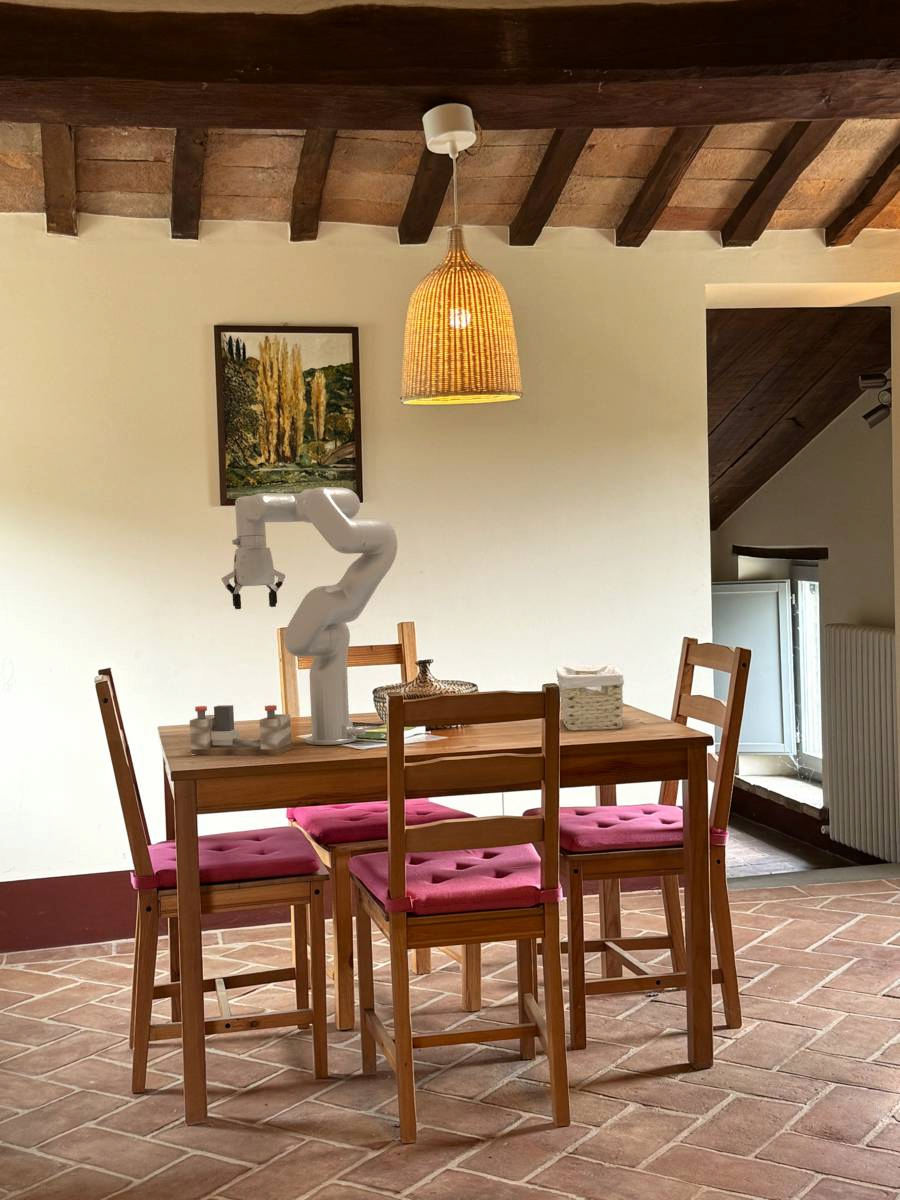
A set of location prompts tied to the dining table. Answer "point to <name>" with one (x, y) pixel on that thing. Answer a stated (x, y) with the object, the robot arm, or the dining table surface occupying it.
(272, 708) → the red knob cap
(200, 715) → the red rounded knob
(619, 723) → the storage basket
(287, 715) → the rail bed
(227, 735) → the carriage
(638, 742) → the dining table surface
